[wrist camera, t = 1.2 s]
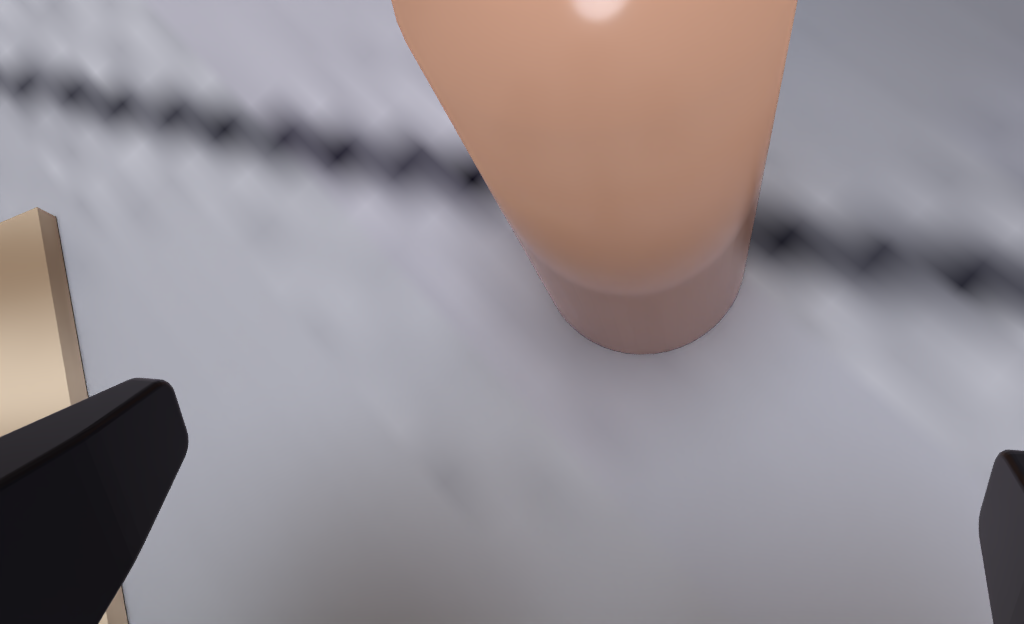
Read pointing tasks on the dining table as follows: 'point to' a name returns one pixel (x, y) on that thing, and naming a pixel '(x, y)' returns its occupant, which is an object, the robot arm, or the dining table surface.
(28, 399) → the plate
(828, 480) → the dining table surface
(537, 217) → the tan tapered rounded cylinder
